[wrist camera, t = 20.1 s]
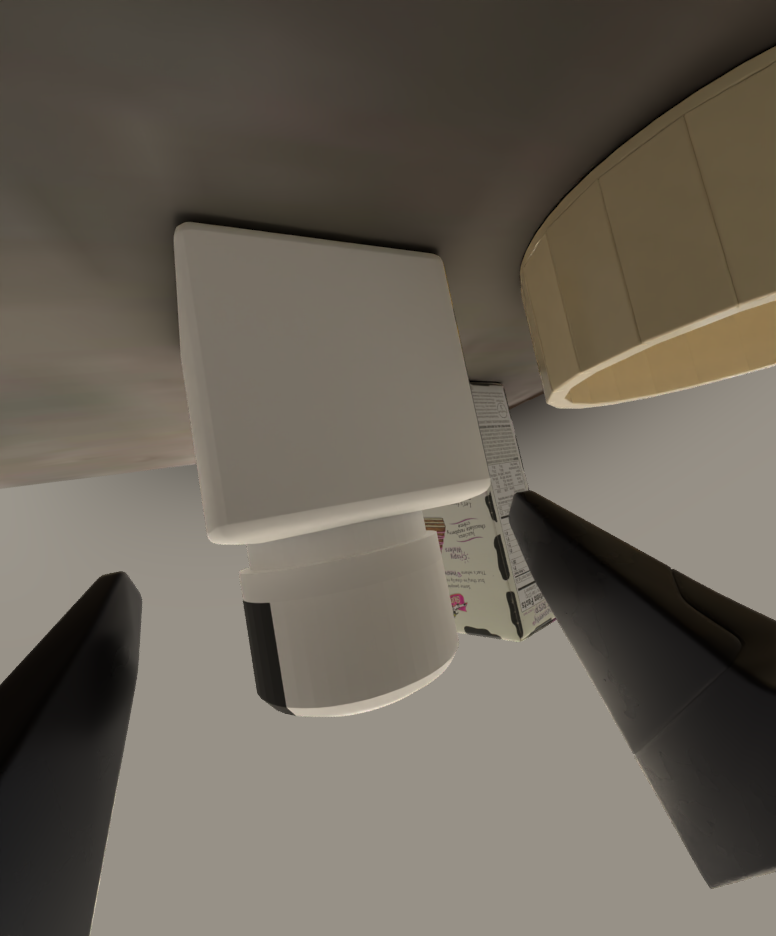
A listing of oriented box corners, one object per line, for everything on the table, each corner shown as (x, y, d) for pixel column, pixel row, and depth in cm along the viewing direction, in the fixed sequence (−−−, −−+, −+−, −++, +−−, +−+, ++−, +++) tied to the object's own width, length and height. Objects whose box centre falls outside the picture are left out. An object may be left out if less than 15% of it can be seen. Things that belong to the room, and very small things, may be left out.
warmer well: (880, -139, 5) (996, 172, 5) (1124, 49, 9) (1200, 231, 9) (459, 308, 16) (483, 420, 15) (658, 307, 20) (683, 396, 19)
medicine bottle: (357, 352, 18) (410, 625, 17) (179, 353, 15) (229, 688, 14) (446, 249, 12) (539, 671, 11) (170, 210, 9) (260, 809, 7)
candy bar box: (407, 425, 37) (444, 608, 35) (362, 427, 34) (400, 627, 32) (509, 381, 28) (564, 620, 27) (461, 378, 25) (520, 648, 24)
